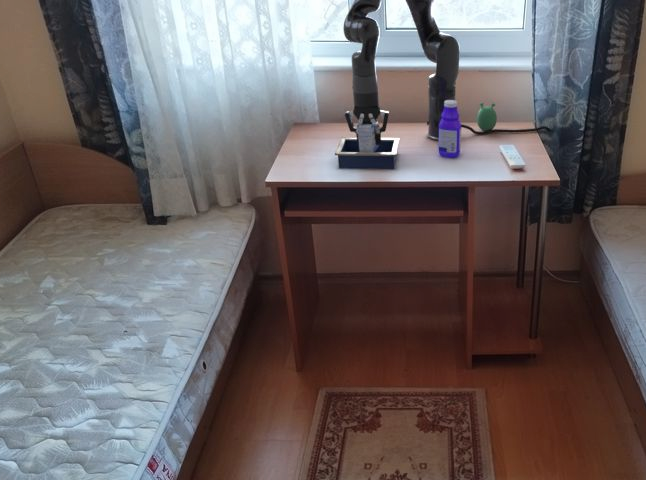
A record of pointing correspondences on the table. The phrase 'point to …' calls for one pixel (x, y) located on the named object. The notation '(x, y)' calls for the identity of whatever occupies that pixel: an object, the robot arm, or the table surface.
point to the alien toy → (486, 117)
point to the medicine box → (367, 138)
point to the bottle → (449, 131)
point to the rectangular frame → (367, 154)
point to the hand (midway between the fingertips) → (369, 144)
